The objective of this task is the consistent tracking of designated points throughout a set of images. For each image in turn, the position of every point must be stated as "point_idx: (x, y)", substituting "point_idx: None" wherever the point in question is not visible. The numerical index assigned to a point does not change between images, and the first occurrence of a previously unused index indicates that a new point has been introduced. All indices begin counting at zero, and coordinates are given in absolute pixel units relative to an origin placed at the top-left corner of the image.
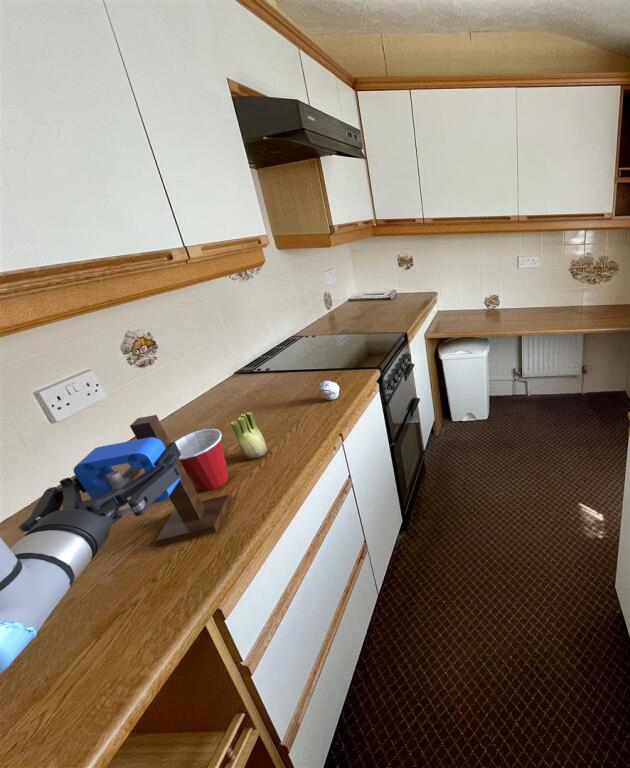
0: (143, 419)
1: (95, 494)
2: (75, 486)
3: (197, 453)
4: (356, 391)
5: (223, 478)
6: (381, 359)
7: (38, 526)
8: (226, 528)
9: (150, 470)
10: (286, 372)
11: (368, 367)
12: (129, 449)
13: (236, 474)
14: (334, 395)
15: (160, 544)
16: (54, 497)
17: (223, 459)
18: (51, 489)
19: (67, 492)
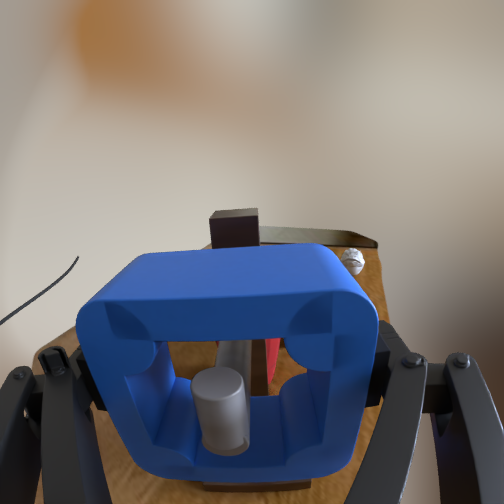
0: (233, 212)
1: (132, 428)
2: (79, 387)
3: None
4: (375, 269)
5: (272, 374)
6: (372, 240)
7: None
8: (327, 483)
9: (395, 389)
10: (268, 244)
11: (364, 246)
12: (282, 270)
13: (282, 368)
14: (359, 269)
15: (208, 490)
16: (29, 406)
17: (279, 342)
18: (20, 376)
19: (54, 425)
